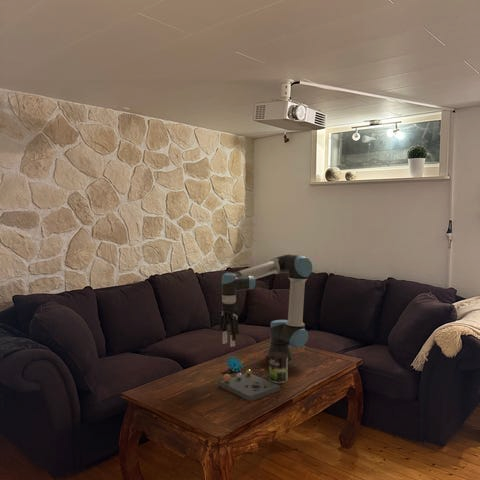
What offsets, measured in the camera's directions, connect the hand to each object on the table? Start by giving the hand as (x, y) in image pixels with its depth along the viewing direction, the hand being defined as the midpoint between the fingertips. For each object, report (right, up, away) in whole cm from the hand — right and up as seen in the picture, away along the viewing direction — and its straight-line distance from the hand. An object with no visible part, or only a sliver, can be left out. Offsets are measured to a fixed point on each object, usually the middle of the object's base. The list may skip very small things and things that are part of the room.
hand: (228, 344), depth 241 cm
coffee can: (+27, -19, 0) cm, 33 cm away
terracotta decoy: (-1, -15, -10) cm, 18 cm away
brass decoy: (+11, -15, 0) cm, 18 cm away
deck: (+10, -20, -11) cm, 25 cm away
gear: (+3, -18, +15) cm, 24 cm away
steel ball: (+6, -15, -6) cm, 17 cm away
